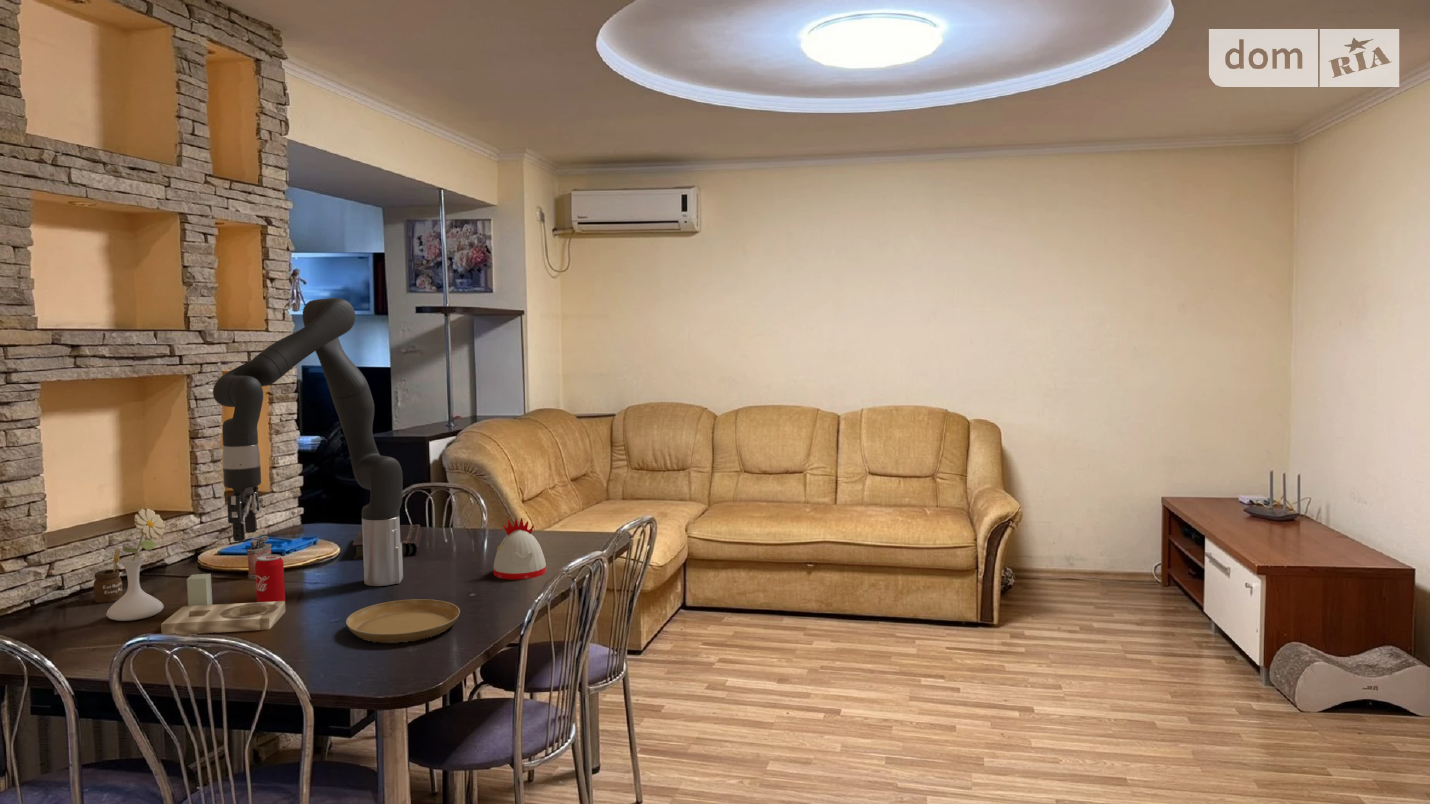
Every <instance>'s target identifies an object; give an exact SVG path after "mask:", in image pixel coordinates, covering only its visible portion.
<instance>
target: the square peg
mask: <svg viewBox="0 0 1430 804" xmlns="http://www.w3.org/2000/svg"><path fill="white" fill-rule="evenodd" d="M186 588H187V603H188V604H187V606H197V605H213V593H212V590H213V589H212V575H211V573H201V574H200V573H199V574H198V573H196V574H191V575H190V576H189V577H188V578H186Z"/></svg>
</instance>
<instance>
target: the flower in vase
mask: <svg viewBox="0 0 1430 804" xmlns="http://www.w3.org/2000/svg"><path fill="white" fill-rule="evenodd" d="M134 525H135V527H136V531H137V532H139V534H140V539H139V542H138V546H137V547H136V548H134V547H133V548H131V547H127V546H124V545H122V551H123V552H125V553H126V552H127V553H134V555H133V556H129V557H123V558H121V559H119V562H120V563H121V564H122V565H123V566H124V569H125V572H126V576H127V589H126V592H125V593H124V594H122V597H121V598H120V599H119V600H117V601H114V603H113V604H112V605H111V606H110V607H109V608H108V609H107V612H106V613H105V615H106V617H107V618H108V619H110V620H113V621H117V622H118V621H120V622H122V621H123V622H124V621H125V622H127V621H129V622H130V621H136V620H142V619H143V620H144V619H147V618H150V617H152V616H156V615H157V614H159V613H161V611H163V609H164V604H163V603H162V602H161V601H160V600H159V599H157V598H156V597H155V596H152V595H150V594H148V593H146V592H145V591H144V590H143V589H142V587H141V583H140V569H141V567H142V564H143V562H144V560H145V559H146V557H145V556H140V555H139V556H137V553H138V551H139V549H140V547H141V548H143V549H144V550H146V551H151V550H153V549H154V548H156V547H157V546H158V544H157V542H155V541H153V540H159V539H160V538H161V537H160V536H164V533H166V530H165V529H164V528H166V524H165V523H164V520H163V519H162V518H161V515H160V514H156V512H155V511H154V510H153V509H150V508H147V509H146V510H145V509H144V508H141V509H140V510H139V511H138V514H137V513H136V514H135V515H134ZM143 538H144V540H143ZM152 539H153V540H152ZM142 540H143V541H142Z"/></svg>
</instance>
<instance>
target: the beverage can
mask: <svg viewBox="0 0 1430 804" xmlns="http://www.w3.org/2000/svg"><path fill="white" fill-rule="evenodd" d="M255 577H256V578H255V591H256V592H255V594H256V602H275V601H285V602H286V592H285V591H286V590H285V589H286V588H285V565H284V560H283V559H282V556H281V554H276V553H275V554H273V553H271V554H270V555H263V556H260V557H258V558H257V561H256V563H255Z"/></svg>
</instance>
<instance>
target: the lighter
mask: <svg viewBox="0 0 1430 804" xmlns="http://www.w3.org/2000/svg"><path fill="white" fill-rule="evenodd" d="M268 541H269V536H268V535H264V536H260V537H254V538H253V540H251V541H250V543H249V544H250V546H251V547H249V548H248V549H247V550H246V553H247V565H248V566H247V567H248V574H247V577H248V578H247V579H256V577H255V563H256V561H257V558H258V557H260V556H263V555H270V554H272V549H271V548H272V543H266V542H268Z"/></svg>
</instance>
